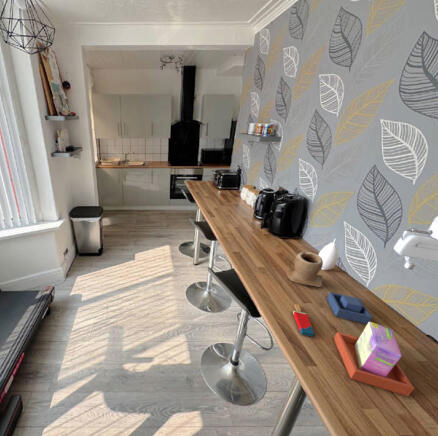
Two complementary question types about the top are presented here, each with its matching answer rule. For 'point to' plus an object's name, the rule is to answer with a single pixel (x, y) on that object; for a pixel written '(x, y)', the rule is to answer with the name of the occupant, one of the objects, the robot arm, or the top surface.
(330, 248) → the sauce bottle
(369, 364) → the box
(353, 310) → the slate block
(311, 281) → the stone cup
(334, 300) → the slate bin
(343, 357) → the terracotta bin
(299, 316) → the popsicle
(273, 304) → the top surface
